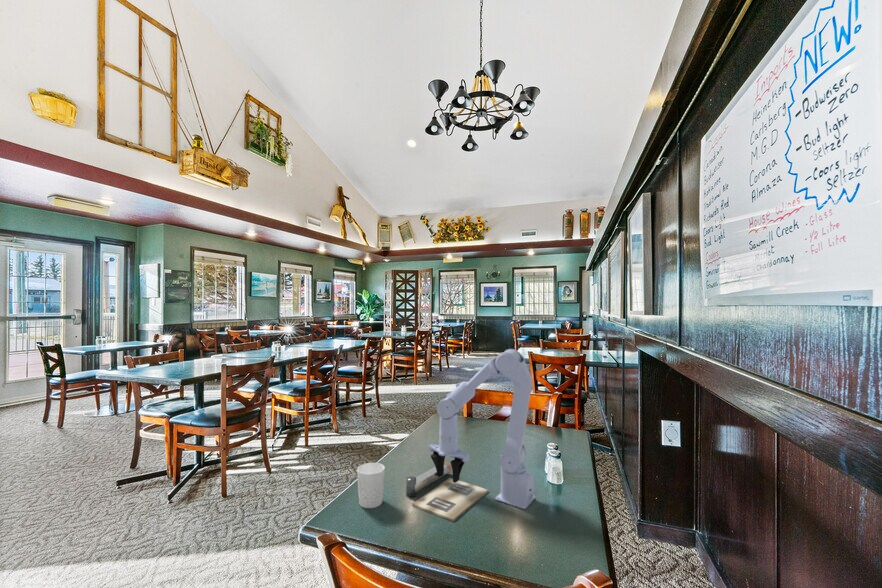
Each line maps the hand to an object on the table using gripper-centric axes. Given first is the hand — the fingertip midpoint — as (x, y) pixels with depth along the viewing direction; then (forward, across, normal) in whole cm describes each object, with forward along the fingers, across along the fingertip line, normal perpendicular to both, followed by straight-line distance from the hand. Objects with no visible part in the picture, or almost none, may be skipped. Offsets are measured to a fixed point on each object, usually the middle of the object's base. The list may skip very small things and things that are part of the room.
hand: (448, 478), depth 125 cm
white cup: (+2, -12, -22) cm, 25 cm away
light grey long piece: (+2, -5, -3) cm, 6 cm away
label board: (+2, +6, -6) cm, 8 cm away
